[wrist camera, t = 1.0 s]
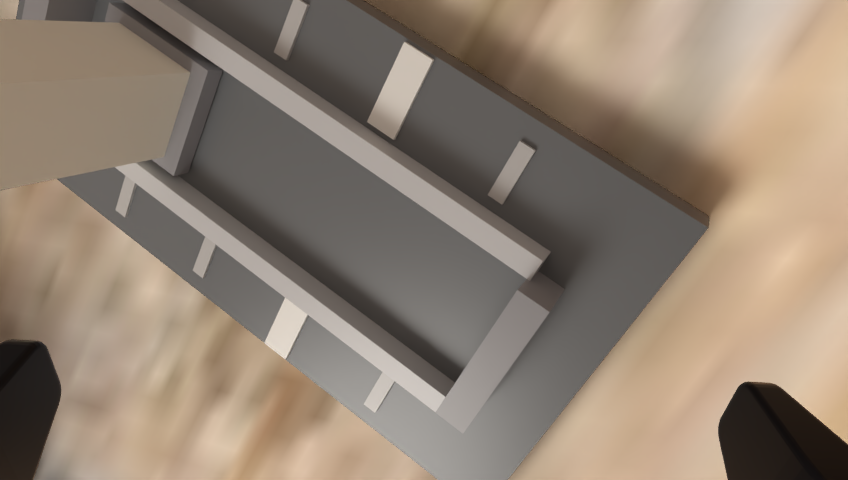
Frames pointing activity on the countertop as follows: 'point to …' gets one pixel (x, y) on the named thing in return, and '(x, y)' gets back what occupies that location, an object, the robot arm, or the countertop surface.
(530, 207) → the grey slider track
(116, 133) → the fader
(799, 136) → the countertop surface
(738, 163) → the countertop surface
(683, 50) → the countertop surface
